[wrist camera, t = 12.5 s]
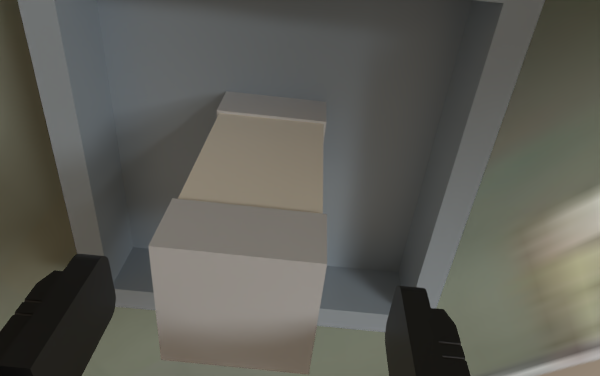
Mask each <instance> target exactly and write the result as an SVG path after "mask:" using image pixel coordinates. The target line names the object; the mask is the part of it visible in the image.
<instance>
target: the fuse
mask: <svg viewBox="0 0 600 376" xmlns="http://www.w3.org/2000/svg"><path fill="white" fill-rule="evenodd" d="M325 129H326V102H323V101H314V100H304V99H295V98H285V97H276V96H266V95H257V94H248V93H238V92H229V91H226V93H225V95H224V97H223V99H222V101H221V103H220V105H219V107H218V109H217V119H216V121H215V123H214V125H213V127H212V129H211V131H210V133H209V135H208V137H207V139H206V142H205V144H204V146H203V148H202V150H201V152H200V154H199V156H198V158H197V160H196V162H195V164H194V166H193V168H192V170H191V172H190V174H189V177H188V179H187V181H186V183H185V185H184V187H183V189H182V191H181V193H180V195H179V197H178V199H175V198H172V200H171V202H170V204H169V206H168V208H167V210H166V212H165V214H164V216H163V218H162V220H161V222H160V224H159V226H158V228H157V230H156V232H155V234H154V236H153V238H152V240H151V242H150V244H149V246H148V247H149V256H150V265H151V274H152V283H153V292H154V300H155V309H156V318H157V327H158V336H159V345H160V353H161V360H169V361H179V362H189V363H199V364H209V365H219V366H229V367H239V368H249V369H260V370H270V371H280V372H290V373H300V374H309V369H310V363H311V357H312V351H313V345H314V339H315V333H316V328H317V322H318V316H319V310H320V304H321V298H322V292H323V286H324V280H325V274H326V268H327V214H323V143H324V136H325Z"/></svg>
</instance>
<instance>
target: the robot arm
mask: <svg viewBox="0 0 600 376" xmlns="http://www.w3.org/2000/svg"><path fill="white" fill-rule="evenodd" d="M115 303H116V294H115V289H114V284H113V279H112V274H111V269H110V264H109V260H108V258H107V257H106V256H99V255H89V254H76V255H75V256H74V257H73V258H72V260H71V261H70V262H69V264H68V265H67V267H66V268H65V269H64V271H53V272H52V273H51V274H49V275H48V276H46V277H45V278H44V279H42V280H41V281H39V282H38V283H37V284H36V285H35V286H34V288H33V289H32V290H31V292H30V293H29V294H28V296H27V297H26V298H25V302H22V304H21V305H20V306H19V308H18V309H17V310H16V312H15V315H13V316H12V317H11V318H10V319H9V321H8V322H7V323H6V325H5V326H4V327H3V329H2V330H1V331H0V376H82V374H83V372H84V370H85V368H86V366H87V364H88V362H89V360H90V358H91V356H92V355H93V353H94V351H95V349H96V347H97V345H98V343H99V341H100V339H101V337H102V335H103V333H104V331H105V329H106V327H107V326H108V324H109V322H110V320H111V318H112V315H113V313H114V309H115ZM385 345H386V354H387V362H388V370H389V376H470V373H469V369H468V366H467V362H466V361H465V355H464V352H463V349H462V346H461V342H460V338H459V335H458V331H457V328H456V325H455V324H454V322H453V321H452V320H451V318H450V317H449V316H448V314H447V313H446V312H445V310H444V309H435V308H431V307H430V303H429V299H428V294H427V291H426V289H425V288H419V287H409V286H399V285H398V286H397V287H396V289H395V293H394V296H393V300H392V304H391V308H390V312H389V315H388V319H387V323H386V331H385Z"/></svg>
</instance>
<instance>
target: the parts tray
mask: <svg viewBox="0 0 600 376" xmlns="http://www.w3.org/2000/svg"><path fill="white" fill-rule="evenodd" d="M544 2H545V0H18V5H19V9H20V13H21V17H22V22H23V26H24V30H25V34H26V39H27V43H28V47H29V51H30V56H31V60H32V64H33V68H34V73H35V77H36V81H37V85H38V90H39V94H40V98H41V102H42V107H43V111H44V115H45V119H46V123H47V128H48V132H49V136H50V140H51V145H52V149H53V153H54V157H55V162H56V166H57V170H58V174H59V179H60V183H61V187H62V191H63V196H64V200H65V204H66V208H67V213H68V217H69V221H70V225H71V230H72V234H73V238H74V242H75V246H76V251H77V254H89V255H99V256H106V257H107V258H108V260H109V264H110V269H111V274H112V279H113V284H114V289H115V294H116V303H115V307H126V308H136V309H147V310H156V309H155V300H154V292H153V283H152V274H151V265H150V256H149V247H148V246H149V244H150V242H151V240H152V238H153V236H154V234H155V232H156V230H157V228H158V226H159V224H160V222H161V220H162V218H163V216H164V214H165V212H166V210H167V208H168V206H169V204H170V202H171V200H172V198H175V199H178V197H179V195H180V193H181V191H182V189H183V187H184V185H185V183H186V181H187V179H188V177H189V174H190V172H191V170H192V168H193V166H194V164H195V162H196V160H197V158H198V156H199V154H200V152H201V150H202V148H203V146H204V144H205V142H206V139H207V137H208V135H209V133H210V131H211V129H212V127H213V125H214V123H215V121H216V119H217V109H218V107H219V105H220V103H221V101H222V99H223V97H224V95H225V93H226V91H229V92H238V93H248V94H257V95H266V96H276V97H285V98H295V99H304V100H314V101H323V102H326V129H325V136H324V143H323V214H327V268H326V274H325V280H324V286H323V292H322V298H321V304H320V310H319V316H318V322H317V326H326V327H336V328H347V329H358V330H368V331H379V332H385V331H386V323H387V319H388V315H389V312H390V308H391V304H392V300H393V296H394V293H395V289H396V287H397V286H398V285H399V286H409V287H419V288H425V289H426V291H427V294H428V299H429V303H430V307H431V308H435V309H436V307H437V304H438V301H439V299H440V296H441V293H442V290H443V287H444V284H445V282H446V279H447V276H448V273H449V270H450V268H451V265H452V262H453V259H454V256H455V253H456V251H457V248H458V245H459V242H460V239H461V236H462V234H463V231H464V228H465V225H466V222H467V219H468V217H469V214H470V211H471V208H472V205H473V203H474V200H475V197H476V194H477V191H478V188H479V186H480V183H481V180H482V177H483V174H484V171H485V169H486V166H487V163H488V160H489V157H490V154H491V152H492V149H493V146H494V143H495V140H496V137H497V135H498V132H499V129H500V126H501V123H502V121H503V118H504V115H505V112H506V109H507V106H508V104H509V101H510V98H511V95H512V92H513V89H514V87H515V84H516V81H517V78H518V75H519V72H520V70H521V67H522V64H523V61H524V58H525V56H526V53H527V50H528V47H529V44H530V41H531V39H532V36H533V33H534V30H535V27H536V24H537V22H538V19H539V16H540V13H541V10H542V7H543V5H544Z"/></svg>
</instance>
